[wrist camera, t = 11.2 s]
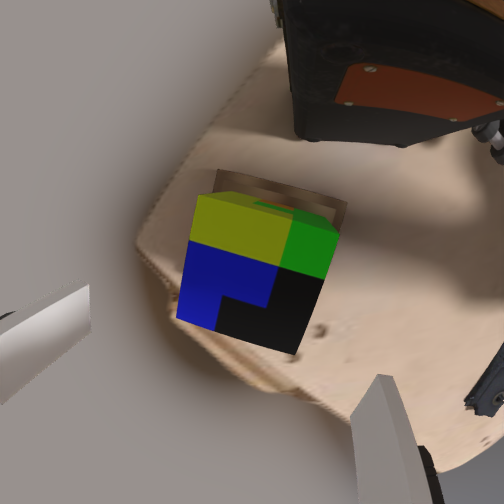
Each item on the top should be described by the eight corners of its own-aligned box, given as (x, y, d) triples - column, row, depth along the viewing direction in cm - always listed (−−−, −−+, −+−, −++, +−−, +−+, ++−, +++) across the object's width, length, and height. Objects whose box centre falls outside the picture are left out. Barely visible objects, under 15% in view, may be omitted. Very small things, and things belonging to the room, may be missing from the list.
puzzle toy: (211, 278, 31) (175, 317, 21) (231, 191, 28) (198, 194, 18) (297, 303, 30) (295, 355, 20) (325, 217, 27) (339, 234, 18)
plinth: (341, 200, 30) (347, 202, 26) (308, 307, 34) (309, 322, 30) (227, 170, 32) (217, 168, 28) (204, 277, 36) (193, 289, 32)
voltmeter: (407, 88, 25) (525, -7, 1) (413, 152, 27) (576, 122, 3) (287, 79, 28) (256, -85, 4) (290, 144, 30) (265, 29, 6)
